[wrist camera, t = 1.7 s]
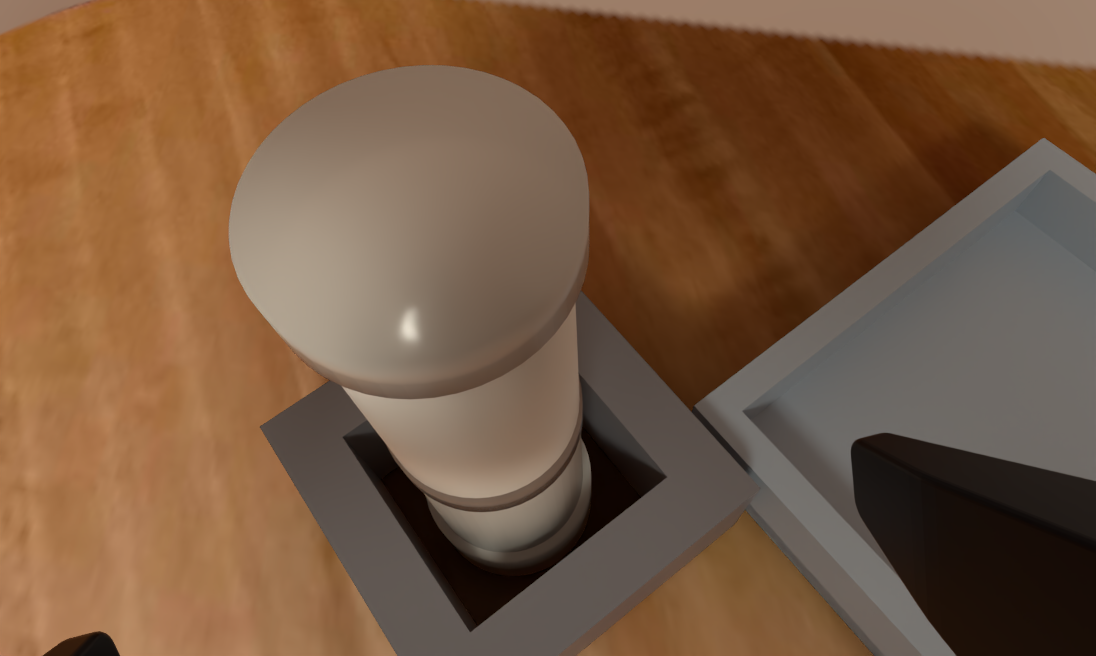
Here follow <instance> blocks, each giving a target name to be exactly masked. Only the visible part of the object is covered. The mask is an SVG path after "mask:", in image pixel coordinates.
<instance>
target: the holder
mask: <svg viewBox="0 0 1096 656" xmlns="http://www.w3.org/2000/svg"><path fill="white" fill-rule="evenodd" d="M576 327H577V350H578V374H579V379H580V383H581V389H582V403H583V422H582V426H583V427H584V429H585V430H586V431H587V432H588V433H589V435H590V436H591V437H592V438H593V439H594V441H595V442H596V443H597V444H598V446H599V447H600V448H601V449H602V450H603V452H604V453H605V454H606V455H607V456H608V458H609V459H610V460H611V461H612V462H613V464H614V465H615V466H616V467H617V469H618V470H619V471H620V472H621V473H622V475H623V476H624V477H625V478H626V479H627V481H628V482H629V483H630V484H631V486H632V487H633V488H634V489H635V490H636V492H637V493H638V494H639V495H640V496H641V498H640V499H639V500H638V501H636V502H635V503H634V504H633V505H631V506H630V507H629V508H628V509H626V510H625V511H624V512H623V513H621V514H620V515H619V516H617V517H616V518H615V519H614V520H612V521H611V522H610V523H609V524H607V525H606V526H605V527H603V528H602V529H601V530H600V531H598V532H597V533H596V534H595V535H593V536H592V537H591V538H589V539H588V540H587V541H586V542H584V543H583V544H582V545H581V546H579V547H578V548H577V549H576V550H574V551H573V552H572V553H570V554H569V555H568V556H567V557H565V558H564V559H563V560H562V561H560V562H559V563H558V564H556V565H555V566H554V567H553V568H551V569H550V570H549V571H548V572H546V573H545V574H544V575H542V576H541V577H540V578H539V579H537V580H536V581H535V582H534V583H532V584H531V585H530V586H529V587H527V588H526V589H525V590H523V591H522V592H521V593H520V594H518V595H517V596H516V597H515V598H513V599H512V600H511V601H509V602H508V603H507V604H506V605H504V606H503V607H502V608H501V609H499V610H498V611H497V612H495V613H494V614H493V615H492V616H490V617H489V618H488V619H487V620H485V621H484V622H483V623H482V624H480V625H479V626H477V625H476V623H475V622H474V620H473V619H472V617H471V616H470V614H469V613H468V611H467V610H466V608H465V607H464V605H463V604H462V602H461V601H460V599H459V598H458V596H457V595H456V593H455V592H454V590H453V589H452V587H451V585H450V584H449V582H448V581H447V579H446V578H445V576H444V575H443V573H442V572H441V570H440V569H439V567H438V566H437V564H436V563H435V561H434V560H433V558H432V557H431V555H430V554H429V552H428V551H427V549H426V548H425V546H424V545H423V543H422V542H421V540H420V539H419V537H418V536H417V534H416V533H415V531H414V529H413V528H412V526H411V525H410V523H409V522H408V520H407V519H406V517H405V516H404V514H403V513H402V511H401V510H400V508H399V507H398V505H397V504H396V502H395V501H394V499H393V498H392V496H391V495H390V493H389V492H388V490H387V489H386V487H385V486H384V484H383V483H382V481H381V480H380V479H382V478H383V477H384V476H386V475H387V474H389V473H390V472H392V471H393V470H394V469H396V468H397V467H399V465H398V464H397V463H396V461H395V460H394V458H393V456H392V455H391V453H390V451H389V449H388V447H387V445H386V444H385V442H384V441H383V440H382V438H381V437H380V436H379V434H378V433H377V432H376V430H375V429H374V428H373V427H372V425H371V424H370V423H369V421H368V420H367V419H366V417H365V416H364V415H363V413H362V412H361V411H360V410H359V408H358V407H357V406H356V404H355V403H354V402H353V400H352V399H351V398H350V396H349V395H348V394H347V393H346V391H345V390H344V389H343V387H342V386H341V385H339V384H337V383H335V382H332V381H328V382H327V383H325V384H324V385H322V386H321V387H319V388H318V389H316V390H315V391H313V392H312V393H310V394H309V395H307V396H306V397H304V398H303V399H301V400H299V401H298V402H296V403H295V404H293V405H292V406H290V407H289V408H287V409H286V410H284V411H283V412H281V413H280V414H278V415H277V416H275V417H274V418H272V419H271V420H269V421H268V422H266V423H264V424H263V425H261V426H260V428H261V430H262V431H263V433H264V435H265V436H266V438H267V440H268V441H269V443H270V445H271V446H272V448H273V450H274V451H275V453H276V455H277V456H278V458H279V460H280V461H281V463H282V465H283V466H284V468H285V470H286V471H287V473H288V475H289V476H290V478H291V480H292V481H293V483H294V485H295V486H296V488H297V490H298V491H299V493H300V495H301V496H302V498H303V499H304V501H305V503H306V504H307V506H308V508H309V509H310V511H311V513H312V514H313V516H314V518H315V519H316V521H317V523H318V524H319V526H320V528H321V529H322V531H323V533H324V534H325V536H326V538H327V539H328V541H329V543H330V544H331V546H332V548H333V549H334V551H335V553H336V554H337V556H338V558H339V559H340V561H341V563H342V564H343V566H344V568H345V569H346V571H347V573H348V574H349V576H350V578H351V579H352V581H353V583H354V584H355V586H356V588H357V589H358V591H359V593H360V594H361V596H362V598H363V599H364V601H365V603H366V604H367V606H368V608H369V609H370V611H371V613H372V614H373V616H374V617H375V619H376V621H377V622H378V624H379V626H380V627H381V629H382V631H383V632H384V634H385V636H386V637H387V639H388V641H389V642H390V644H391V646H392V647H393V649H394V651H395V652H396V654H397V656H576V655H577V654H579V653H580V652H581V651H582V650H583V649H585V648H586V647H587V646H588V645H590V644H591V643H592V642H593V641H594V640H596V639H597V638H598V637H599V636H600V635H602V634H603V633H604V632H605V631H606V630H608V629H609V628H610V627H611V626H612V625H614V624H615V623H616V622H617V621H618V620H620V619H621V618H622V617H623V616H625V615H626V614H627V613H628V612H629V611H631V610H632V609H633V608H634V607H635V606H637V605H638V604H639V603H640V602H641V601H643V600H644V599H645V598H646V597H647V596H649V595H650V594H651V593H652V592H653V591H655V590H656V589H657V588H658V587H659V586H661V585H662V584H663V583H664V582H666V581H667V580H668V579H669V578H670V577H672V576H673V575H674V574H675V573H676V572H678V571H679V570H680V569H681V568H682V567H684V566H685V565H686V564H687V563H688V562H690V561H691V560H692V559H693V558H694V557H696V556H697V555H698V554H699V553H700V552H702V551H703V550H704V549H705V548H707V547H708V546H709V545H710V544H711V543H713V542H714V541H715V540H716V539H717V538H719V537H720V536H721V535H722V534H723V533H725V532H726V531H727V530H728V529H729V528H731V527H732V526H733V525H734V524H735V523H736V521H737V520H738V519H739V517H740V516H741V514H742V513H743V512H744V510H745V509H746V508H747V506H748V505H749V504H750V502H751V501H752V500H753V498H754V497H755V496H756V494H757V493H758V492H759V490H760V489H761V488H760V487H759V486H758V485H757V484H756V483H755V482H754V480H753V479H752V478H751V477H750V476H749V475H748V474H747V473H746V472H745V471H744V469H743V468H742V467H741V466H740V465H739V464H738V463H737V462H736V461H735V460H734V458H733V457H732V456H731V455H730V454H729V453H728V452H727V451H726V450H725V448H724V447H723V446H722V445H721V444H720V443H719V442H718V441H717V440H716V439H715V437H714V436H713V435H712V434H711V433H710V432H709V431H708V430H707V429H706V428H705V426H704V425H703V424H702V423H701V422H700V421H699V420H698V419H697V418H696V417H695V415H694V414H693V413H692V412H691V411H690V410H689V409H688V408H687V407H686V406H685V404H684V403H683V402H682V401H681V400H680V399H679V398H678V397H677V396H676V394H675V393H674V392H673V391H672V390H671V389H670V388H669V387H668V386H667V385H666V383H665V382H664V381H663V380H662V379H661V378H660V377H659V376H658V375H657V374H656V372H655V371H654V370H653V369H652V368H651V367H650V366H649V365H648V364H647V363H646V361H645V360H644V359H643V358H642V357H641V356H640V355H639V354H638V353H637V352H636V350H635V349H634V348H633V347H632V346H631V345H630V344H629V343H628V342H627V340H626V339H625V338H624V337H623V336H622V335H621V334H620V333H619V332H618V331H617V329H616V328H615V327H614V326H613V325H612V324H611V323H610V322H609V321H608V320H607V318H606V317H605V316H604V315H603V314H602V313H601V312H600V311H599V310H598V309H597V307H596V306H595V305H594V304H593V303H592V302H591V301H590V300H589V299H588V298H587V296H586V295H585V294H584V293H583V292H582V291H580V293H579V296H578V299H577V301H576Z"/></svg>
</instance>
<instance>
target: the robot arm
mask: <svg viewBox="0 0 1096 656" xmlns="http://www.w3.org/2000/svg"><path fill="white" fill-rule="evenodd" d="M851 464H852V476H853V488H854V499H855V504H856V507H857V510H858V513H859V515H860V517H861V519H862V520H863V522H864V524H865V525H866V527H867V528H868V530H869V531H870V533H871V534H872V536H873V537H874V539H875V540H876V542H877V544H878V545H879V547H880V548H881V550H882V551H883V553H884V554H885V556H886V557H887V559H888V561H889V562H890V564H891V565H892V567H893V568H894V570H895V571H896V573H897V574H898V576H899V577H900V579H901V581H902V582H903V584H904V585H905V587H906V588H907V590H908V591H909V593H910V594H911V596H912V597H913V599H914V601H915V602H916V604H917V605H918V607H919V608H920V609H921V611H922V612H923V614H924V615H925V617H926V618H927V620H928V621H929V622H930V624H931V625H932V626H933V627H934V629H935V630H936V631H937V633H938V634H939V635H940V636H941V638H942V639H943V640H944V641H945V643H946V644H947V645H948V646H949V648H950V649H951V650H952V651H953V652H954V654H955V655H956V656H1096V481H1094V480H1090V479H1085V478H1081V477H1077V476H1073V475H1068V474H1064V473H1060V472H1055V471H1051V470H1047V469H1042V468H1038V467H1034V466H1029V465H1025V464H1021V463H1017V462H1012V461H1008V460H1004V459H999V458H995V457H991V456H986V455H982V454H978V453H974V452H969V451H965V450H961V449H956V448H952V447H948V446H943V445H939V444H935V443H930V442H926V441H922V440H918V439H913V438H909V437H905V436H900V435H896V434H892V433H886V432H885V433H878V434H874V435H870V436H867V437H863V438H859V439H857V440H855V441H854V442H853V444H852V446H851ZM43 656H120V655H119V652H118V650H117V648H116V646H115V644H114V642H113V640H112V639H111V637H110V636H109V635H107V634H106V633H103V632H100V631H99V632H93V633H89V634H85V635H81V636H77V637H73V638H69V639H67V640H64V641H63V642H61V643H59V644H58V645H57V646H55V647H54V648H52V649H51V650H50V651H48V652H47V653H46V654H44V655H43Z"/></svg>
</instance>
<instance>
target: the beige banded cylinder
mask: <svg viewBox="0 0 1096 656" xmlns="http://www.w3.org/2000/svg"><path fill="white" fill-rule="evenodd" d="M229 244H230V251H231V257H232V261H233V264H234V267H235V270H236V273H237V276H238V279H239V281H240V283H241V284H242V286H243V288H244V290H245V292H246V294H247V296H248V297H249V298H250V300H251V301H252V302H253V303H254V305H255V306H256V307H257V309H258V310H259V311H260V312H261V314H262V315H263V316H264V317H265V318H266V320H267V321H268V322H269V323H270V324H271V326H272V327H273V328H274V329H275V331H276V332H277V333H278V334H279V335H280V337H281V338H282V339H283V340H284V341H285V343H286V344H287V345H288V346H289V347H290V349H291V350H292V351H293V352H294V353H295V354H296V355H297V356H298V357H299V358H300V359H301V360H302V361H303V362H304V363H305V364H306V365H307V366H309V367H310V368H311V369H313V370H314V371H316V372H317V373H319V374H320V375H322V376H323V377H325V378H326V379H328V380H330V381H332V382H335V383H337V384H339V385H341V386H342V387H343V389H344V390H345V391H346V393H347V394H348V395H349V396H350V398H351V399H352V400H353V402H354V403H355V404H356V406H357V407H358V408H359V410H360V411H361V412H362V413H363V415H364V416H365V417H366V419H367V420H368V421H369V423H370V424H371V425H372V427H373V428H374V429H375V430H376V432H377V433H378V434H379V436H380V437H381V438H382V440H383V441H384V442H385V444H386V445H387V447H388V449H389V451H390V453H391V455H392V456H393V458H394V460H395V461H396V463H397V464H398V465H399V467H400V468H401V469H402V470H403V472H404V473H405V474H406V475H407V477H408V478H409V479H410V481H411V482H412V483H413V484H414V485H415V486H416V487H417V488H418V489H419V490H420V491H421V492H423V493H424V495H425V496H426V499H427V503H428V507H429V510H430V512H431V514H432V517H433V519H434V521H435V522H436V524H437V526H438V527H439V529H440V530H441V531H442V532H443V534H444V535H445V536H446V537H447V539H448V540H449V541H450V542H451V543H452V545H453V546H454V547H455V548H456V550H457V551H458V552H459V553H460V554H461V555H462V556H463V557H464V558H465V559H467V560H468V561H469V562H471V563H472V564H473V565H475V566H477V567H479V568H481V569H483V570H485V571H488V572H491V573H495V574H499V575H507V576H519V575H527V574H532V573H535V572H538V571H541V570H544V569H546V568H548V567H550V566H552V565H553V564H555V563H556V562H558V561H559V560H561V559H562V558H563V557H564V556H565V555H566V554H568V553H569V552H570V550H571V549H572V548H573V547H574V546H575V545H576V543H577V542H578V540H579V539H580V537H581V536H582V533H583V531H584V529H585V527H586V525H587V521H588V518H589V514H590V509H591V466H590V461H589V456H588V453H587V450H586V447H585V444H584V443H583V441H582V439H581V430H582V422H583V403H582V389H581V383H580V379H579V374H578V350H577V327H576V301H577V299H578V296H579V293H580V291H581V288H582V286H583V283H584V280H585V275H586V271H587V266H588V260H589V188H588V177H587V172H586V168H585V164H584V160H583V157H582V154H581V152H580V150H579V148H578V145H577V143H576V141H575V139H574V137H573V136H572V134H571V133H570V131H569V130H568V128H567V127H566V125H565V124H564V123H563V121H562V120H561V119H560V118H559V117H558V116H557V115H556V114H555V112H554V111H553V110H552V109H551V108H549V107H548V106H547V105H546V104H545V103H544V102H542V101H541V100H540V99H539V98H538V97H536V96H534V95H533V94H531V93H530V92H528V91H527V90H525V89H524V88H522V87H520V86H518V85H516V84H514V83H512V82H510V81H508V80H505V79H503V78H500V77H497V76H494V75H491V74H488V73H486V72H481V71H477V70H472V69H468V68H462V67H453V66H444V65H420V66H407V67H399V68H394V69H388V70H382V71H378V72H375V73H371V74H367V75H364V76H360V77H358V78H355V79H352V80H350V81H347V82H345V83H342V84H340V85H338V86H336V87H334V88H331V89H329V90H327V91H325V92H323V93H321V94H320V95H318V96H317V97H315V98H313V99H312V100H310V101H308V102H307V103H305V104H304V105H302V106H301V107H300V108H298V109H297V110H296V111H294V112H293V113H292V114H291V115H289V116H288V117H287V118H286V119H285V120H283V121H282V122H281V123H280V124H279V125H278V126H277V127H276V128H275V129H274V130H273V131H272V132H271V133H270V134H269V135H268V137H267V138H266V139H265V140H264V141H263V143H262V144H261V145H260V146H259V147H258V149H257V150H256V152H255V153H254V155H253V156H252V158H251V160H250V161H249V163H248V164H247V166H246V168H245V170H244V172H243V174H242V176H241V178H240V180H239V183H238V185H237V189H236V192H235V195H234V198H233V201H232V206H231V212H230V218H229Z"/></svg>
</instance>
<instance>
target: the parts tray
mask: <svg viewBox="0 0 1096 656" xmlns="http://www.w3.org/2000/svg"><path fill="white" fill-rule="evenodd" d="M692 413H693V414H694V415H695V417H696V418H697V419H698V420H699V421H700V422H701V423H702V424H703V425H704V426H705V428H706V429H707V430H708V431H709V432H710V433H711V434H712V435H713V436H714V437H715V439H716V440H717V441H718V442H719V443H720V444H721V445H722V446H723V447H724V448H725V450H726V451H727V452H728V453H729V454H730V455H731V456H732V457H733V458H734V460H735V461H736V462H737V463H738V464H739V465H740V466H741V467H742V468H743V469H744V471H745V472H746V473H747V474H748V475H749V476H750V477H751V478H752V479H753V480H754V482H755V483H756V484H757V485H758V486H759V487H760V488H761V489H760V490H759V492H758V493H757V494H756V496H755V497H754V498H753V500H752V501H751V502H750V504H749V505H748V506H747V508H746V509H745V510H746V511H747V512H748V513H749V514H750V516H751V517H752V518H753V519H754V520H755V521H756V522H757V524H758V525H759V526H760V527H761V528H762V529H763V530H764V531H765V533H766V534H767V535H768V536H769V537H770V538H771V539H772V540H773V542H774V543H775V544H776V545H777V546H778V547H779V548H780V550H781V551H782V552H783V553H784V554H785V555H786V556H787V557H788V559H789V560H790V561H791V562H792V563H793V564H794V565H795V566H796V568H797V569H798V570H799V571H800V572H801V573H802V574H803V576H804V577H805V578H806V579H807V580H808V581H809V582H810V583H811V585H812V586H813V587H814V588H815V589H816V590H817V591H818V592H819V594H820V595H821V596H822V597H823V598H824V599H825V600H826V601H827V603H828V604H829V605H830V606H831V607H832V608H833V609H834V611H835V612H836V613H837V614H838V615H839V616H840V617H841V618H842V620H843V621H844V622H845V623H846V624H847V625H848V626H849V627H850V629H851V630H852V631H853V632H854V633H855V634H856V635H857V637H858V638H859V639H860V640H861V641H862V642H863V643H864V644H865V646H866V647H867V648H868V649H869V650H870V651H871V652H872V653H873V655H874V656H956V655H955V654H954V652H953V651H952V650H951V649H950V648H949V646H948V645H947V644H946V643H945V641H944V640H943V639H942V638H941V636H940V635H939V634H938V633H937V631H936V630H935V629H934V627H933V626H932V625H931V624H930V622H929V621H928V620H927V618H926V617H925V615H924V614H923V612H922V611H921V609H920V608H919V607H918V605H917V604H916V602H915V601H914V599H913V597H912V596H911V594H910V593H909V591H908V590H907V588H906V587H905V585H904V584H903V582H902V581H901V579H900V577H899V576H898V574H897V573H896V571H895V570H894V568H893V567H892V565H891V564H890V562H889V561H888V559H887V557H886V556H885V554H884V553H883V551H882V550H881V548H880V547H879V545H878V544H877V542H876V540H875V539H874V537H873V536H872V534H871V533H870V531H869V530H868V528H867V527H866V525H865V524H864V522H863V520H862V519H861V517H860V515H859V513H858V510H857V507H856V504H855V499H854V488H853V476H852V464H851V446H852V444H853V442H854V441H855V440H857V439H859V438H863V437H867V436H870V435H874V434H878V433H885V432H886V433H892V434H896V435H900V436H905V437H909V438H913V439H918V440H922V441H926V442H930V443H935V444H939V445H943V446H948V447H952V448H956V449H961V450H965V451H969V452H974V453H978V454H982V455H986V456H991V457H995V458H999V459H1004V460H1008V461H1012V462H1017V463H1021V464H1025V465H1029V466H1034V467H1038V468H1042V469H1047V470H1051V471H1055V472H1060V473H1064V474H1068V475H1073V476H1077V477H1081V478H1085V479H1090V480H1094V481H1096V174H1095V173H1093V172H1092V171H1090V170H1089V169H1088V168H1086V167H1085V166H1083V165H1082V164H1081V163H1079V162H1078V161H1076V160H1075V159H1073V158H1072V157H1071V156H1069V155H1068V154H1066V153H1065V152H1063V151H1062V150H1061V149H1059V148H1058V147H1056V146H1055V145H1053V144H1052V143H1051V142H1049V141H1048V140H1046V139H1045V138H1042V139H1041V140H1040V141H1039V142H1037V143H1036V144H1035V145H1033V146H1032V147H1031V148H1029V149H1028V150H1027V151H1025V152H1024V153H1023V154H1022V155H1020V156H1019V157H1018V158H1016V159H1015V160H1014V161H1012V162H1011V163H1010V164H1009V165H1007V166H1006V167H1005V168H1003V169H1002V170H1001V171H999V172H998V173H997V174H995V175H994V176H993V177H992V178H990V179H989V180H988V181H986V182H985V183H984V184H982V185H981V186H980V187H979V188H977V189H976V190H975V191H973V192H972V193H971V194H969V195H968V196H967V197H965V198H964V199H963V200H962V201H960V202H959V203H958V204H956V205H955V206H954V207H952V208H951V209H950V210H948V211H947V212H946V213H945V214H943V215H942V216H941V217H939V218H938V219H937V220H935V221H934V222H933V223H932V224H930V225H929V226H928V227H926V228H925V229H924V230H922V231H921V232H920V233H918V234H917V235H916V236H915V237H913V238H912V239H911V240H909V241H908V242H907V243H905V244H904V245H903V246H902V247H900V248H899V249H898V250H896V251H895V252H894V253H892V254H891V255H890V256H888V257H887V258H886V259H885V260H883V261H882V262H881V263H879V264H878V265H877V266H875V267H874V268H873V269H872V270H870V271H869V272H868V273H866V274H865V275H864V276H862V277H861V278H860V279H858V280H857V281H856V282H855V283H853V284H852V285H851V286H849V287H848V288H847V289H845V290H844V291H843V292H842V293H840V294H839V295H838V296H836V297H835V298H834V299H832V300H831V301H830V302H828V303H827V304H826V305H825V306H823V307H822V308H821V309H819V310H818V311H817V312H815V313H814V314H813V315H812V316H810V317H809V318H808V319H806V320H805V321H804V322H802V323H801V324H800V325H798V326H797V327H796V328H795V329H793V330H792V331H791V332H789V333H788V334H787V335H785V336H784V337H783V338H781V339H780V340H779V341H778V342H776V343H775V344H774V345H772V346H771V347H770V348H768V349H767V350H766V351H765V352H763V353H762V354H761V355H759V356H758V357H757V358H755V359H754V360H753V361H751V362H750V363H749V364H748V365H746V366H745V367H744V368H742V369H741V370H740V371H738V372H737V373H736V374H735V375H733V376H732V377H731V378H729V379H728V380H727V381H725V382H724V383H723V384H721V385H720V386H719V387H718V388H716V389H715V390H714V391H712V392H711V393H710V394H708V395H707V396H706V397H705V398H703V399H702V400H701V401H699V402H698V403H697V404H695V405H694V407H693V410H692Z"/></svg>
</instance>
